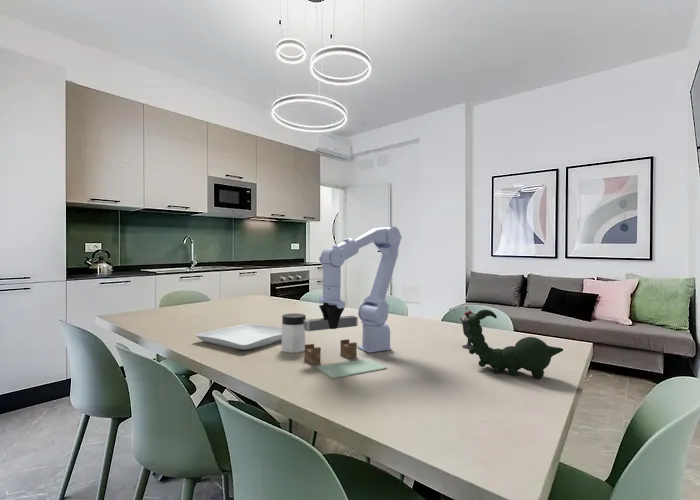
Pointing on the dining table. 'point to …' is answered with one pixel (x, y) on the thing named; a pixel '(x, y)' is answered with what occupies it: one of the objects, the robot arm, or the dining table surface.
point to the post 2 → (348, 349)
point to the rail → (324, 323)
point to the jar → (293, 333)
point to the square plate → (243, 336)
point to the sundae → (466, 326)
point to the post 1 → (312, 354)
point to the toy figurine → (510, 350)
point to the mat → (351, 368)
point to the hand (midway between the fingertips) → (331, 327)
